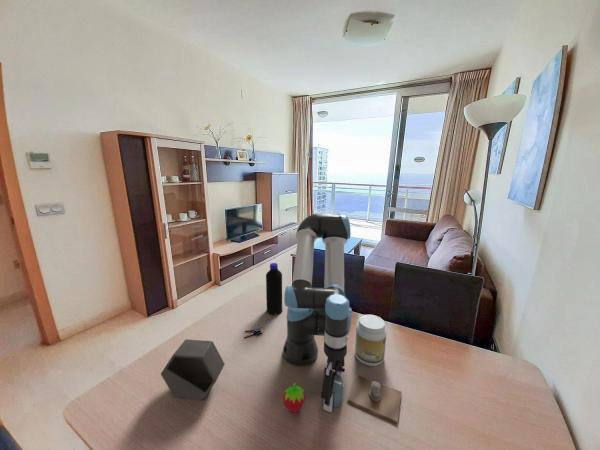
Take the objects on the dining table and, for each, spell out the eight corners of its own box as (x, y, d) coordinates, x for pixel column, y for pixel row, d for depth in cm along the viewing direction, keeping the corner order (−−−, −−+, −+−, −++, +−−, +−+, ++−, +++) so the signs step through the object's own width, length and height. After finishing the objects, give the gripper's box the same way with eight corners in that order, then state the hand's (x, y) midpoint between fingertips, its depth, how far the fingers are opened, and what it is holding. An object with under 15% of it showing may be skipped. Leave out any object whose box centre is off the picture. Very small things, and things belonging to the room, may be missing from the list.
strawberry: (282, 402, 83) (282, 377, 81) (303, 400, 84) (304, 376, 81) (283, 419, 77) (283, 393, 75) (306, 417, 78) (306, 391, 76)
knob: (320, 401, 83) (321, 384, 82) (327, 387, 89) (328, 370, 87) (338, 410, 80) (339, 392, 79) (344, 394, 86) (345, 377, 84)
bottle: (279, 316, 132) (279, 268, 126) (264, 314, 134) (263, 266, 128) (284, 307, 141) (283, 262, 135) (269, 305, 142) (268, 260, 136)
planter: (153, 384, 84) (180, 343, 79) (167, 367, 91) (192, 328, 86) (195, 410, 84) (223, 370, 80) (205, 390, 92) (232, 353, 87)
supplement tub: (388, 366, 98) (392, 330, 95) (359, 368, 98) (362, 331, 94) (377, 345, 110) (380, 312, 107) (351, 346, 109) (353, 313, 106)
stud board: (347, 402, 83) (348, 388, 82) (356, 376, 94) (357, 364, 92) (397, 424, 76) (399, 410, 75) (401, 394, 86) (402, 381, 85)
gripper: (335, 369, 68) (332, 432, 73) (355, 326, 87) (352, 379, 92) (311, 359, 72) (309, 420, 76) (335, 320, 91) (333, 371, 96)
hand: (332, 397), depth 84 cm, fingers open, 9 cm apart
